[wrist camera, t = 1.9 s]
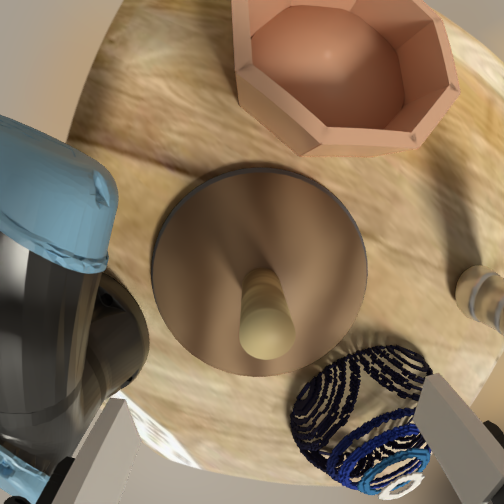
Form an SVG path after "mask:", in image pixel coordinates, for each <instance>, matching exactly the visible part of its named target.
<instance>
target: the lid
mask: <svg viewBox="0 0 504 504" xmlns="http://www.w3.org/2000/svg"><path fill="white" fill-rule="evenodd" d="M366 279H367V270H366V259H365V253H364V249H363V245H362V242H361V239H360V237H359V234H358V232H357V230H356V228H355V226H354V224H353V223H352V221H351V220H350V218H349V217H348V215H347V214H346V212H345V211H344V210H343V209H342V208H341V207H340V206H339V204H338V203H337V202H335V201H334V200H333V199H332V198H331V197H330V196H329V195H327V194H326V193H325V192H323V191H321V190H320V189H318V188H317V187H315V186H313V185H311V184H309V183H307V182H305V181H303V180H301V179H297V178H294V177H291V176H287V175H282V174H276V173H258V172H255V173H247V174H239V175H235V176H232V177H228V178H224V179H222V180H220V181H217V182H215V183H213V184H210V185H209V186H207V187H205V188H204V189H202V190H200V191H199V192H197V193H196V194H195V195H193V196H192V197H191V198H190V199H188V200H187V201H186V202H185V203H184V204H183V205H182V206H181V207H180V208H179V209H178V210H177V212H176V213H175V214H174V215H173V217H172V218H171V220H170V221H169V223H168V224H167V226H166V228H165V230H164V232H163V234H162V236H161V238H160V241H159V244H158V247H157V250H156V254H155V259H154V266H153V284H154V293H155V297H156V302H157V305H158V308H159V310H160V313H161V316H162V318H163V320H164V321H165V323H166V325H167V327H168V329H169V330H170V331H171V333H172V334H173V336H174V337H175V338H176V339H177V340H178V342H179V343H180V344H181V345H182V346H183V347H184V348H185V349H186V350H188V351H189V352H190V353H191V354H192V355H194V356H195V357H197V358H198V359H200V360H201V361H203V362H204V363H206V364H208V365H210V366H212V367H214V368H217V369H220V370H222V371H225V372H228V373H232V374H237V375H242V376H252V377H266V376H274V375H280V374H285V373H289V372H292V371H295V370H298V369H300V368H303V367H305V366H307V365H309V364H311V363H313V362H315V361H316V360H318V359H319V358H321V357H322V356H324V355H325V354H327V353H328V352H329V351H330V350H331V349H333V348H334V347H335V346H336V345H337V344H338V343H339V342H340V340H341V339H342V338H343V337H344V336H345V334H346V333H347V332H348V330H349V329H350V328H351V326H352V324H353V322H354V321H355V319H356V317H357V315H358V312H359V310H360V307H361V305H362V301H363V298H364V294H365V288H366Z"/></svg>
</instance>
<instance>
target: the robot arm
mask: <svg viewBox="0 0 504 504" xmlns="http://www.w3.org/2000/svg"><path fill="white" fill-rule="evenodd" d="M117 207H118V189H117V185H116V183H115V180H114V178H113V177H112V175H111V174H110V172H109V171H108V170H107V169H106V168H105V167H104V166H103V165H102V164H100V163H99V162H97V161H96V160H94V159H93V158H91V157H89V156H88V155H86V154H84V153H82V152H81V151H79V150H77V149H75V148H73V147H71V146H69V145H68V144H66V143H64V142H61V141H59V140H57V139H55V138H53V137H51V136H49V135H47V134H45V133H43V132H41V131H38V130H36V129H34V128H32V127H29V126H27V125H25V124H22V123H20V122H18V121H15V120H13V119H10V118H8V117H5V116H2V115H0V488H1V489H2V490H4V491H5V492H7V493H8V494H10V495H12V497H9V498H8V499H7V500H6V501H5V502H4V504H119V502H120V499H121V496H122V494H123V491H124V488H125V485H126V482H127V480H128V477H129V474H130V471H131V469H132V466H133V463H134V460H135V458H136V455H137V452H138V449H139V447H140V444H141V442H142V440H141V438H140V436H139V433H138V431H137V428H136V426H135V423H134V421H133V418H132V416H131V413H130V410H129V408H128V405H127V402H126V400H125V399H117V398H110V399H109V401H108V402H107V404H106V406H105V408H104V409H103V411H102V413H101V414H100V416H99V418H98V420H97V422H96V423H95V425H94V427H93V428H92V430H91V432H90V434H89V435H88V437H87V439H86V441H85V443H84V444H83V446H82V448H81V450H80V451H79V453H78V455H77V457H76V459H75V458H72V455H73V453H74V451H75V449H76V448H77V446H78V444H79V442H80V441H81V439H82V437H83V436H84V434H85V432H86V430H87V429H88V427H89V425H90V423H91V422H92V420H93V418H94V417H95V415H96V413H97V411H98V409H99V408H100V406H101V405H102V403H103V401H104V400H106V399H107V398H109V397H110V396H112V395H113V394H115V393H116V392H118V391H119V390H120V389H122V388H124V387H126V386H127V385H129V384H130V383H131V382H132V381H133V380H134V379H135V378H136V377H137V376H138V374H139V373H140V371H141V369H142V367H143V365H144V364H145V362H146V359H147V357H148V353H149V333H148V328H147V324H146V321H145V319H144V316H143V314H142V312H141V310H140V308H139V307H138V305H137V303H136V302H135V300H134V299H133V298H132V296H131V295H130V294H129V293H128V292H127V291H126V290H125V289H124V288H123V287H122V286H121V285H120V284H119V283H118V282H117V281H115V280H114V279H113V278H111V277H110V276H108V275H106V274H104V273H102V271H104V270H105V269H106V267H107V263H108V259H109V256H108V251H107V249H108V245H109V240H110V236H111V231H112V227H113V223H114V219H115V215H116V211H117ZM412 420H413V421H414V423H415V424H416V426H417V428H418V429H419V431H420V432H421V434H422V436H423V437H424V439H425V441H426V442H427V444H428V446H429V447H430V449H431V450H432V452H433V454H434V455H435V457H436V459H437V460H438V462H439V464H440V465H441V467H442V469H443V471H444V472H445V474H446V476H447V477H448V479H449V481H450V482H451V484H452V486H453V488H454V490H455V491H456V493H457V495H458V497H459V499H460V500H461V502H462V504H487V503H488V502H489V501H490V500H491V501H492V502H493V504H504V434H503V432H502V431H501V429H500V428H499V427H498V426H497V425H495V424H494V423H492V422H490V421H486V422H484V423H482V422H481V421H480V419H479V418H478V417H477V416H476V415H475V414H474V412H473V411H472V410H471V409H470V408H469V406H468V405H467V404H466V403H465V402H464V401H463V400H462V398H461V397H460V396H459V395H458V394H457V393H456V392H455V390H454V389H453V388H452V387H451V386H450V385H449V384H448V382H447V381H446V380H445V379H444V378H443V377H442V376H441V375H440V374H439V373H436V374H433V375H429V376H426V377H425V381H424V384H423V388H422V391H421V395H420V398H419V401H418V404H417V407H416V410H415V413H414V416H413V419H412Z"/></svg>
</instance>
